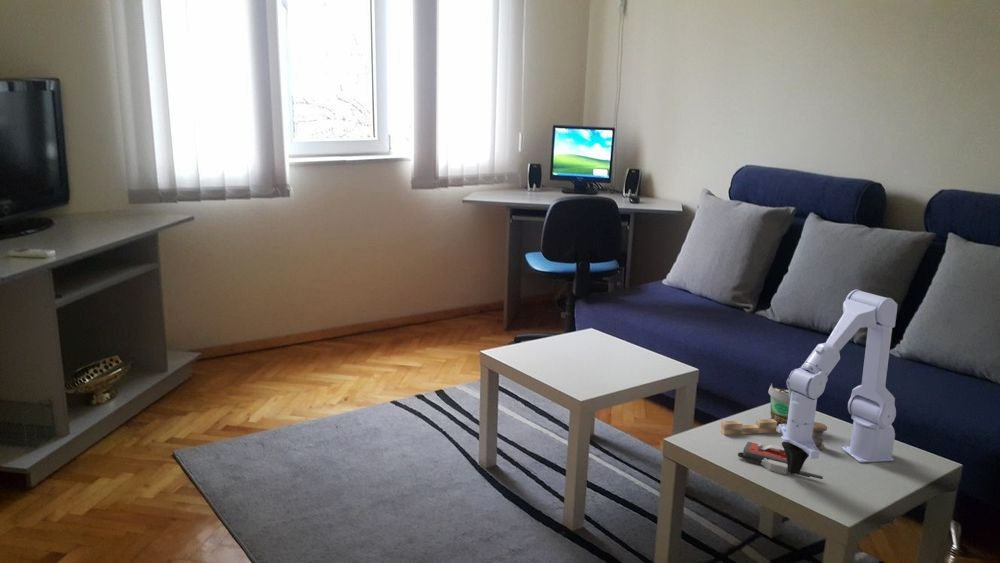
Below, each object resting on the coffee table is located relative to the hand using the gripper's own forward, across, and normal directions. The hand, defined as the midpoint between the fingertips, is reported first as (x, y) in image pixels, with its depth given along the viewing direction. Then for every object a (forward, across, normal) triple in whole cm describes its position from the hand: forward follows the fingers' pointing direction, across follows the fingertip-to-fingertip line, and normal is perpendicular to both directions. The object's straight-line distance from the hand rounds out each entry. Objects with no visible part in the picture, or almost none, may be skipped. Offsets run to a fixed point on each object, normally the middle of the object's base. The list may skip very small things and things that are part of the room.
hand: (793, 472), depth 182 cm
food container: (+2, -28, +14) cm, 31 cm away
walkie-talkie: (+2, -6, 0) cm, 7 cm away
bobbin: (+1, -15, +15) cm, 21 cm away
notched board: (+1, -25, +2) cm, 25 cm away
